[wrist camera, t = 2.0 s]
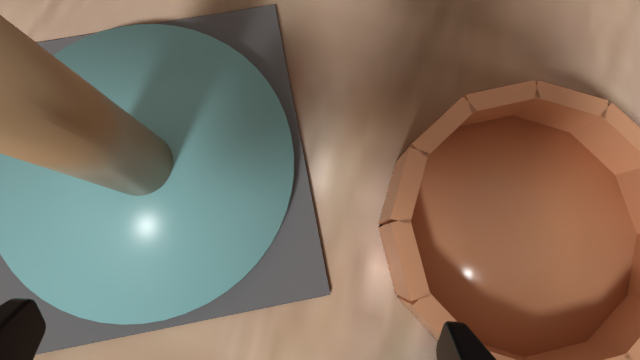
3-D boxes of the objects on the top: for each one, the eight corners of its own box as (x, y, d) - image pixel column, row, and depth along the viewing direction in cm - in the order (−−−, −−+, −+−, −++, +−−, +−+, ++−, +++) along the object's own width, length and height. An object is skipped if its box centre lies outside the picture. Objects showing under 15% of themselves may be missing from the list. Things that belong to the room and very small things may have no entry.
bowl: (521, 430, 21) (562, 465, 18) (328, 223, 23) (332, 218, 20) (691, 237, 23) (757, 234, 20) (502, 60, 25) (532, 30, 22)
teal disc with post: (121, 391, 21) (-249, 660, 7) (-63, 159, 23) (-628, 16, 9) (354, 175, 23) (417, 62, 9) (169, -18, 25) (-2, -344, 11)
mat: (330, 294, 22) (330, 294, 22) (-1, 361, 21) (-5, 362, 21) (275, 7, 25) (274, 4, 25) (-16, 54, 24) (-19, 51, 24)
